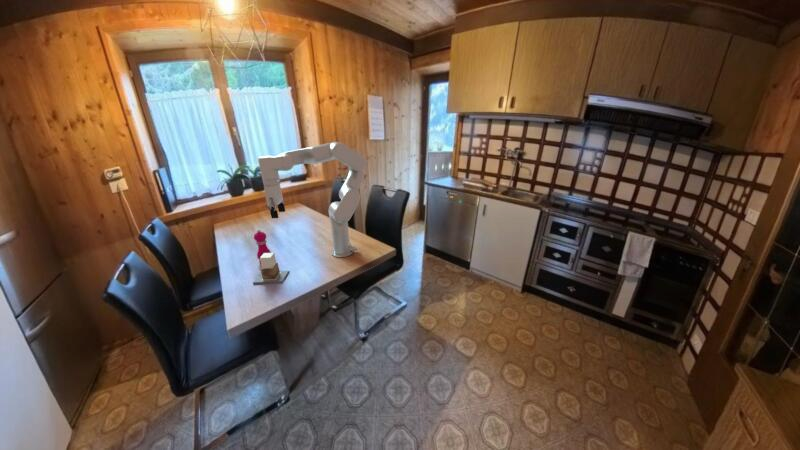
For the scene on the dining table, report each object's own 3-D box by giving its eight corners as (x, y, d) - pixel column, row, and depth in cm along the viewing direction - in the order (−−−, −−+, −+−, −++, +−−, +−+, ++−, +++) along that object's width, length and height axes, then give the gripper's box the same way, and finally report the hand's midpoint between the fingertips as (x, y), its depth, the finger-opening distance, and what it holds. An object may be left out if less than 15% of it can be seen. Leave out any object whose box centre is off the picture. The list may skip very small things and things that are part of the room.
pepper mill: (258, 266, 145) (250, 233, 138) (259, 260, 151) (251, 228, 144) (272, 263, 148) (265, 230, 140) (273, 258, 154) (266, 226, 147)
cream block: (276, 263, 134) (274, 252, 132) (272, 268, 130) (270, 257, 127) (266, 263, 134) (263, 253, 132) (262, 268, 129) (259, 257, 127)
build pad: (289, 272, 139) (288, 270, 139) (282, 282, 130) (281, 281, 129) (262, 273, 139) (261, 271, 138) (253, 284, 129) (252, 282, 129)
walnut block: (279, 272, 137) (277, 262, 135) (275, 279, 131) (272, 268, 129) (268, 273, 137) (265, 263, 134) (263, 279, 131) (260, 269, 129)
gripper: (270, 178, 137) (277, 209, 143) (256, 186, 121) (264, 221, 127) (285, 177, 137) (291, 209, 143) (272, 185, 121) (280, 220, 127)
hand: (278, 214), depth 135 cm, fingers open, 9 cm apart
